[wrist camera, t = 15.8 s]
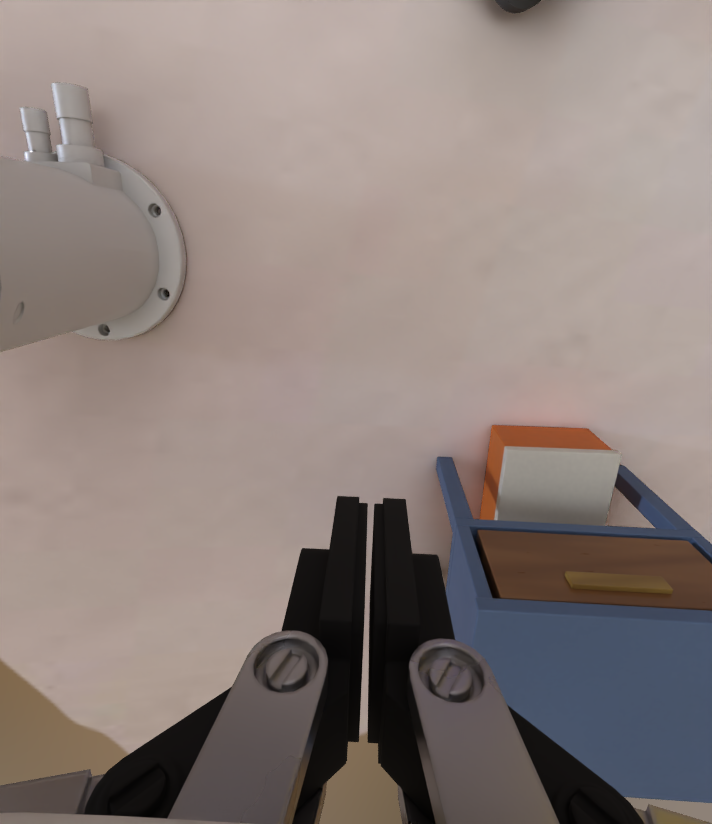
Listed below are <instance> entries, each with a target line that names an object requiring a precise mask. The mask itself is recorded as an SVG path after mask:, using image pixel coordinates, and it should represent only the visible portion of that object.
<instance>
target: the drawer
mask: <svg viewBox="0 0 712 824" xmlns="http://www.w3.org/2000/svg"><path fill="white" fill-rule="evenodd" d="M476 541H477V544H478V547H479V550H480V561H481V564H482V567H483V570H484V573H485V576H486V580H487V583H488V586H489V589H490V592H491V595H492V598H496V599H514V600H531V601H549V602H567V603H584V604H602V605H619V606H637V607H655V608H672V609H690V610H707V611H712V564H711V563H710V562H709V561H708V560H707V559H706V558H705V557H704V556H703V555H702V554H701V553H700V552H699V551H698V550H697V549H696V548H695V547H694V546H693V545H691V544H690V543H689V542H688V541H683V540H664V539H645V538H626V537H607V536H588V535H568V534H549V533H530V532H511V531H492V530H477V536H476Z"/></svg>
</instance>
